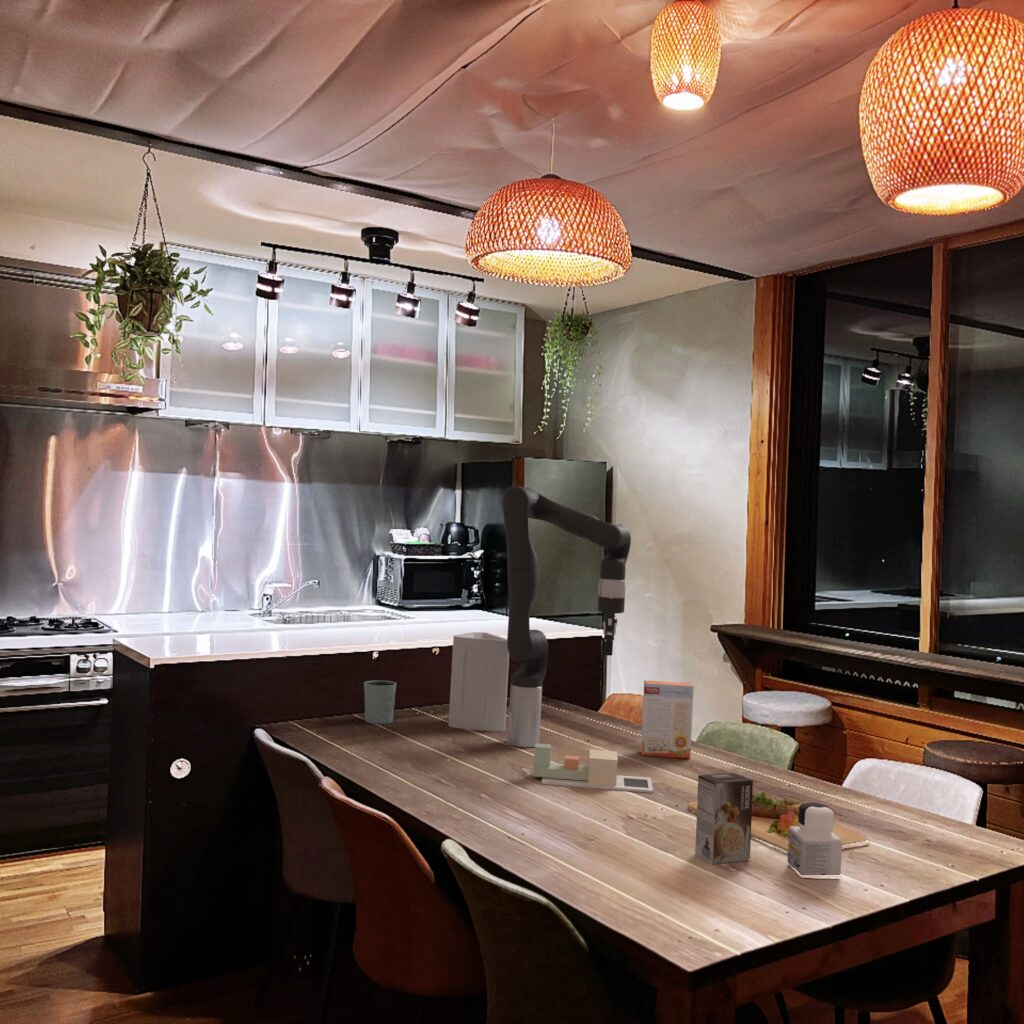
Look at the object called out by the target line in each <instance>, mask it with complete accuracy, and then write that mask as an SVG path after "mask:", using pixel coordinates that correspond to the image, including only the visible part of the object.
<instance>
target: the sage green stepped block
mask: <svg viewBox="0 0 1024 1024" xmlns="http://www.w3.org/2000/svg"><path fill="white" fill-rule="evenodd" d="M533 754H534V756H533V770H532V777H538V778H543V777H547V778H560V779H572V780H585V781H588V776H589V765H580V756H579V755H567V754H565V756H564V763H556V762H555V763H554V762H553V763H552V762H551V760H552V757H551V756H552V744H551V743H550V744H548V743H539V744H538V743H536V744H535V747H534V753H533Z"/></svg>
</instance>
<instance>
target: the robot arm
mask: <svg viewBox="0 0 1024 1024" xmlns="http://www.w3.org/2000/svg"><path fill="white" fill-rule="evenodd" d="M502 513H503V520H504V527H505V537H506V555H507V559H506V560H507V563H506V564H507V567H506V568H507V585H508V587H507V588H508V624H507V635H506V636H507V638H506V639H507V647H508V652H509V658H511V660H512V661H514V662H515V663H519V664H520V666H519V667H518V669H517V670H516V671H515V672H513V673H512V674H511V676H510V691H509V707H508V708H509V709H508V714H507V731H506V733H507V734H506V745H507V746H513V747H518V748H535V744H536V743H538V744H540V738H541V737H540V735H541V734H540V732H541V713H542V699H543V698H542V695H543V681H544V679H545V676H546V673H547V664H548V663H547V662H548V657H549V656H548V653H549V645H548V644H549V643H548V639H547V637H546V635H545V633H544V632H542V631H541V630H539V629H531V627H530V616H531V610H532V607H533V603H534V601H535V599H536V597H537V593H538V591H539V590H538V589H539V587H540V569H539V566H540V565H539V561H538V560H539V559H538V556H537V553H536V550H535V548H534V545H533V543H532V540H531V537H530V532H529V519H531V520H532V519H533V520H540V521H544V522H547V523H549V524H551V525H554V526H556V527H558V529H559V528H560V530H563V531H565V532H566V533H569V534H572V535H573V536H576V537H580V538H581V539H585V540H588V541H590V542H592V543H594V544H595V545H598V546H599V547H602V548H604V549H606V554H605V557H604V558H603V559H602V560H601V562H600V569H599V583H598V591H597V608H596V610H597V612H599V613H605V618H603V619H602V626H603V628H602V629H603V633H602V634H603V635H604V637H603V639H604V651H603V652H604V655H605V656H612V655H613V652H614V651H613V649H614V641H615V636H616V633H617V632H616V631H617V626H618V618H616V614H623V613H624V612H625V604H626V603H625V600H626V565H627V564H626V563H627V561H628V557H629V553H630V549H631V545H632V537H631V532H630V530H629V529H628V527H627V526H626V525H623V524H616V523H615V524H614V523H611V522H606V521H604V520H601V519H599V518H598V517H596V516H595V515H592V514H590V513H587V512H584V511H581V510H579V509H575V508H572V507H570V506H565V505H562V504H560V503H558V502H556V501H553V500H551V499H549V498H548V497H545V496H544V495H542V494H541V493H539V492H538V491H536V490H534V489H532V488H529V487H525V486H519V485H518V486H517V485H515V486H510V487H509V488H507V490H505V492H504V494H503V497H502Z"/></svg>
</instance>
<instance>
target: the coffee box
mask: <svg viewBox="0 0 1024 1024" xmlns="http://www.w3.org/2000/svg"><path fill="white" fill-rule="evenodd" d="M697 776H698V778H697V780H698V781H697V782H698V783H697V801H696V802H697V814H696V822H695V823H696V825H695V827H696V830H695V845H694V846H695V847H694V849H695V850H694V855H695V856H697V855H698V856H697V857H700V858H701V859H702V860H705V861H706V862H708V863H709V862H710V863H709V864H711V865H720V863H722V864H727V863H728V862H730V863H735V862H734V861H738V862H742V861H741V860H747V861H749V860H748V859H750V860H751V841H752V840H751V839H752V838H751V820H752V795H753V794H754V793H753V792H754V790H753V788H754V780H752V779H750V778H748V777H746V776H743V775H740V774H739V773H735V772H729V773H713V774H712V773H711V774H698V775H697Z"/></svg>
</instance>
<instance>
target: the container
mask: <svg viewBox="0 0 1024 1024" xmlns="http://www.w3.org/2000/svg"><path fill="white" fill-rule="evenodd" d="M804 803H805V802H804ZM834 822H835V811H834V810H833V808H832V807H830V806H828V805H827V804H823V803H819V802H810V803H805V804H802V805H800V806H799V818H798V826H799V827H798V826H790V827H789V842H788V854H787V862H788V863H789V864H790V865H791V866H792V867H793V868H795V869H796V870H797V871H798V872H799V873H800V874H801V875H840V874H841V873H842V872H841V871H842V854H843V851H842V850H843V849H842V840H841V839H840V838H839V837H837V836H836V835H835V834H834V833H832V832H833V827H834V824H835V823H834ZM787 862H786V863H787ZM841 875H842V874H841Z"/></svg>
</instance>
